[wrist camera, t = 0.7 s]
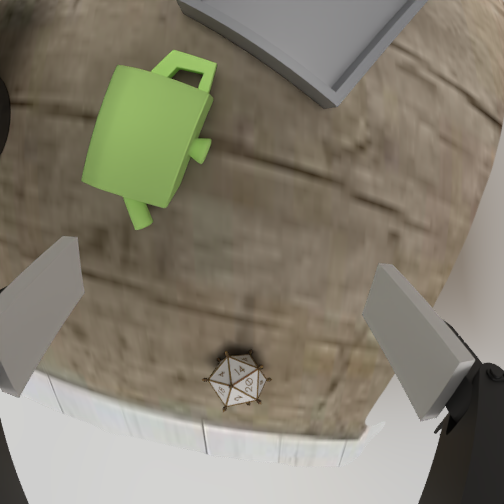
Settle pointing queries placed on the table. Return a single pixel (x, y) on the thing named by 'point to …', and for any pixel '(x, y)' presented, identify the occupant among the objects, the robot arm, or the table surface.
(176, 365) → the table surface
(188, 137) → the green handled block
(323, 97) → the gray tray
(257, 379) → the game die
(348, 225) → the table surface
